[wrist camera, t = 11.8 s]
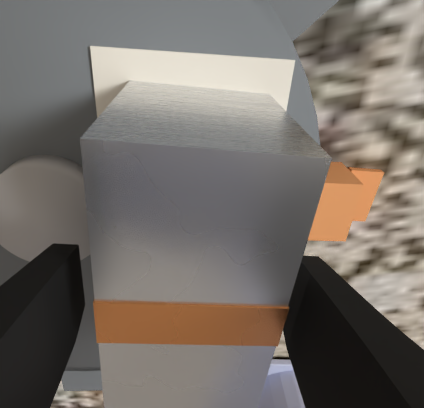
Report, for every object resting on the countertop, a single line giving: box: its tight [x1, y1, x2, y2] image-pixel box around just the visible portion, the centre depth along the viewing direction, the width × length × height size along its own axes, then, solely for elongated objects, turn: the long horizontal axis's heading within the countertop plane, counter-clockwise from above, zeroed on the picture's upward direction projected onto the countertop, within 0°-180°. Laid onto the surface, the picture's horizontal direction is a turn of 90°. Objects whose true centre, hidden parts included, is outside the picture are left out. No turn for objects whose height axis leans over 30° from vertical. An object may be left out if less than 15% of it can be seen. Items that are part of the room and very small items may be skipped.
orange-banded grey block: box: [80, 80, 332, 408], centre depth 9 cm, size 8×4×5 cm, turn 174°
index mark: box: [349, 167, 384, 221], centre depth 15 cm, size 2×1×1 cm, turn 174°
